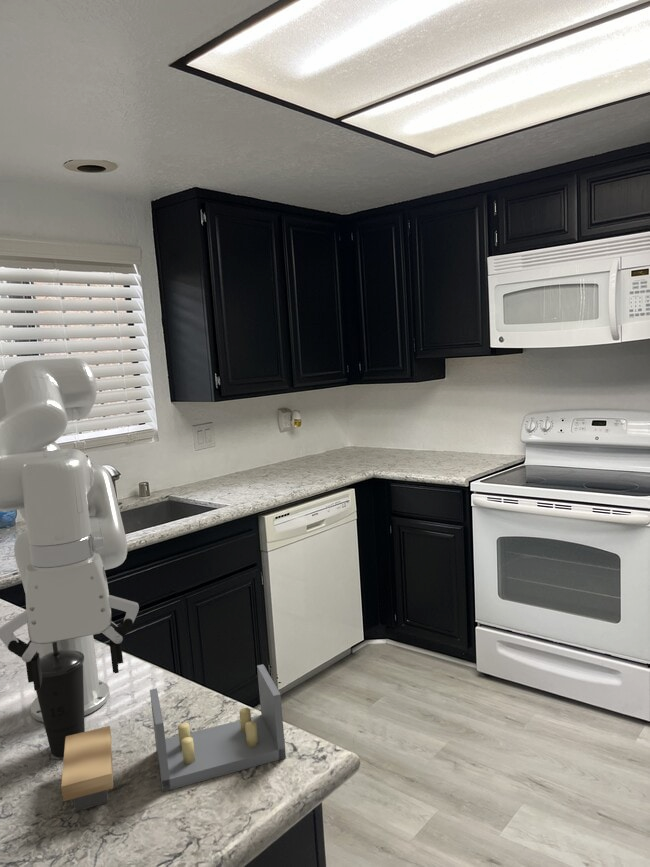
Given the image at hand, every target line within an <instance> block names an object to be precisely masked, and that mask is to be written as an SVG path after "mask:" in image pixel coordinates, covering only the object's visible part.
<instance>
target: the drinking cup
mask: <svg viewBox="0 0 650 867" xmlns="http://www.w3.org/2000/svg"><path fill="white" fill-rule="evenodd" d="M52 646H53V652H51V653H49V654H46V655H45V656H43V657H41V658H40V664H41V672H42V684H41V688H40V689H39V690H35V692H36V698H37V697H38V701H39V705H40V709H41V713H42V717H43V721H44V722H43V725H44V726H43V727H44V729H45V734H46V738H47V741H48V746H49V749H50V753H51V755H52V756H53V757H56V758H64V750H65V739H66V736H69V735H74V734H78V733H82V732H86V731H85V726H86V724H85V716H84V686H83V662H84V659H85V658H84V654H83V653H81V652H79V651H72V650H60V651H58V646H57V642H54V643H52Z"/></svg>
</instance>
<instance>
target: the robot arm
mask: <svg viewBox="0 0 650 867" xmlns="http://www.w3.org/2000/svg"><path fill="white" fill-rule="evenodd" d="M97 388H98V386H97V380H96V377H95V373H94V371H93V369H92V368H91V366H90V365H89V364H88V363H87V362H86V361H85V360H83V359H80V358H77V357H75V358H74V357H68V358H54V359H53V358H52V359H51V358H49V359H39V360H38V359H36V360H33V359H32V360H25V361H22V362H21V361H20V362H18V363H15V364H14V365H13V364H12V365H11V367H9V368H8V369H7V370H6V371H5V373H4V374H3V378H2V381H1V382H0V512H10V511H18V510H19V513H20V515H21V517H22V518H23V519H24V521H25V522H26V527H27V528H26V529H24V530H23V531H21V532H20V534H18V536H17V537H16V539H15V541H14V547H13V552H14V557H15V562H16V565H17V568H18V573H19V575H20V578H21V581H22V586H23V589H24V590H23V591H24V593H25V595H24V596H25V610H24V611H23V612H21V613H20V614H18V615H16V616H15V617H14V618H12V619H11V620H9V621H8V622H6V623H5V624H3V625H1V626H0V640H1V641H2V642H3V644H4V645H5V646H6V647H7V649H8V651H9V652H11V653H13V654H15V655H16V656H18V657H20V658H21V660H22V661H23V662H25V667H26V674H27V682H28V683H33V689H34V691H36V690H39V689H40V688H41V684H42V672H41V664H40V658H41V657H43V656H45V655H46V654H49V653H51V652H53V646H52V643H54V642H57V646H58V651H60V650H72V651H79V652H81V653H83V654H84V658H85V659H84V662H83V686H84V717H85V716H87V715H91V713H94V712H95V711H96V710H99V709H100V708H101V707H102V706H103V705H105V704H106V702H108V699H109V698H110V693H111V692H110V687H109V685H108V684H107V683H106V682H105V681H102V680H99V673H98V664H97V663H98V662H97V655H96V648H95V638H94V635H98V634H101V633H102V634H103V635H104V636H105V637H107V638H108V639H109V648H110V649H109V650H110V658H111V668H112V673H113V674H119V664H123V663H124V658H123V650H122V647H123V646H122V642H123V640H124V638H125V637H126V635H127V634H128V633H129V631H130V630H131V629H132V627H133V626H134V622H135V620H136V618H137V616H138V613H139V609H140V606H139V605H140V604H139V603H138V602H136V601H134V600H133V601H132V600H130V599H129V600H128V599H126V598H122V597H118V596H115V595H111V594H110V592H109V591H110V590H109V586H108V578H107V576H106V575H107V574H106V571H107V570H111V569H114V568H117V567H119V566H121V565H123V563H124V562H125V560H126V559H127V555H128V543H127V537H126V536H127V535H126V532H125V527H124V523H123V518H122V515H121V514H122V513H121V510H120V507H119V502H118V498H117V494H116V490H115V489H116V488H115V486H114V482H113V479H112V477H111V474H110V472H109V471H108V470H107V469H106V467H104V466H103V465H101V464H98V463H97V464H96V463H92V461H91V459H90V457H88V456H87V455H86V454H85V453H84V452H83V451H82V450H79V449H77V448H62V449H61V447H60V445H59V444H58V443H57V442H56V441H58V439H60V438H61V437H62V435H63V434H64V432H65V431H66V429H67V426H68V421H77V420H81V419H82V420H83V419H85V418H86V417H88V416H89V414H90V413H91V411H92V409H93V407H94V404H95V403H96V401H97V400H96V399H97V395H98V394H97V392H98V391H97V390H98V389H97ZM112 609H114V610H118V611H122V612H125V616H124V618H123V619H122V620H121V621H120V623H119V624H118V625H117V624H116V623H115V622H114V621H112ZM26 624H27V625H26ZM25 625H26V626H27V632H28V638H29V640H28V642H27V643H26V642H25V641H24V640H21V639H20V638H18V637H17V636H16V635H15V634H14V632H16V631H17V630H19V629H20V628H22V627H23V626H25ZM30 714H31V716H32V718H33V719H35V720H36V721H38V722H41V723H44V721H43V717H42V713H41V709H40V705H39V701H38V697H37V696H36V697H35V698H34V700H33V701H32V702H31V705H30Z"/></svg>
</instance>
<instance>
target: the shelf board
mask: <svg viewBox="0 0 650 867" xmlns="http://www.w3.org/2000/svg"><path fill="white" fill-rule="evenodd" d="M112 741H113V740H112V732H111V725H108V726H107V725H106V726H104V727H99V728H96V729H91V730H87V731H85V732H82V733H78V734H74V735H69V736H66V739H65V750H64V757H63V762H62V772H61V774H62V775H61V787H60V788H61V797H62V802H66V801H71V800H74V798H78V797H82V796H86V795H89V794H93V793H97V792H100V791H104V790H107V791H108V790H112V789H114V772H113V771H114V770H113V769H114V768H113V745H112V743H113V742H112Z"/></svg>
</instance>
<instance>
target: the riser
mask: <svg viewBox="0 0 650 867" xmlns="http://www.w3.org/2000/svg"><path fill="white" fill-rule="evenodd" d="M106 803H108V790H104V791H100V792H97V793H93V794H89V795H86V796H82V797H78V798H74V799H73V806H74V812H77V811H81V810H84V809H89V808H92V807H96V806H99V805H102V804H106Z"/></svg>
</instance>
